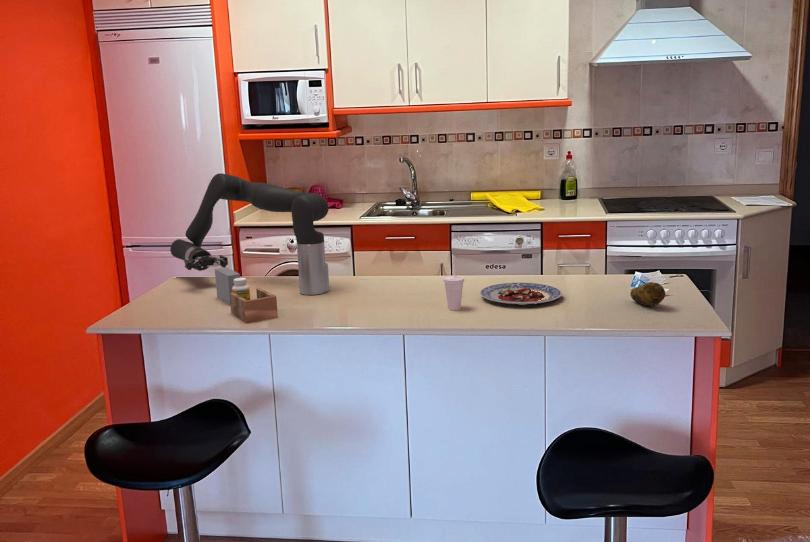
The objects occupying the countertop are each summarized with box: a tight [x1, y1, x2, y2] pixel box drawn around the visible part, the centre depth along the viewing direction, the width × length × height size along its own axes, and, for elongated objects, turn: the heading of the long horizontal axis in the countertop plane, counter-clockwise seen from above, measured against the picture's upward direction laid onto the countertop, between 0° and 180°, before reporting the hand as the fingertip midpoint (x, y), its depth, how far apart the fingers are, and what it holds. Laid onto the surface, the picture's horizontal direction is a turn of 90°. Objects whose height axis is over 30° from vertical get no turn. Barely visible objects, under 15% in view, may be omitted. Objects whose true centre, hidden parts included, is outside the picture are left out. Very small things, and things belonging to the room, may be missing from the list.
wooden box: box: [229, 287, 279, 324], centre depth 228 cm, size 13×10×6 cm
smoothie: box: [443, 263, 465, 311], centre depth 227 cm, size 6×6×14 cm
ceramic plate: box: [479, 282, 563, 305], centre depth 238 cm, size 26×26×3 cm
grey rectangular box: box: [214, 266, 241, 307], centre depth 246 cm, size 13×4×10 cm, turn 32°
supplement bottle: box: [232, 277, 251, 300], centre depth 236 cm, size 5×5×10 cm
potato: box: [630, 281, 666, 306], centre depth 224 cm, size 8×13×8 cm, turn 176°
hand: (212, 266), depth 257 cm, fingers open, 8 cm apart
